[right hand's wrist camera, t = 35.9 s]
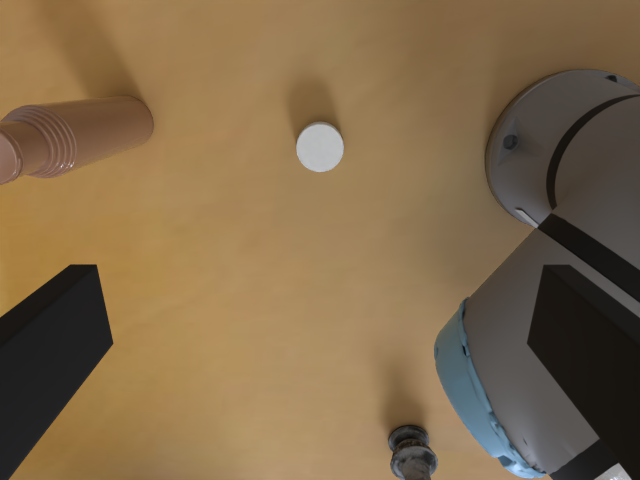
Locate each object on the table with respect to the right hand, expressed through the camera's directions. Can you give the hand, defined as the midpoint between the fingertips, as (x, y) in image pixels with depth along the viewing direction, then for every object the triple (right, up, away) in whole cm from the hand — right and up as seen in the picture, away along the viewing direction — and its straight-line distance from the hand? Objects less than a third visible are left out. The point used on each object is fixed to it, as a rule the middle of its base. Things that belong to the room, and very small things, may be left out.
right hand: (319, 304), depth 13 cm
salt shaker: (+12, -25, +43) cm, 51 cm away
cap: (0, +11, +27) cm, 29 cm away
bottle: (-18, +13, +28) cm, 36 cm away
